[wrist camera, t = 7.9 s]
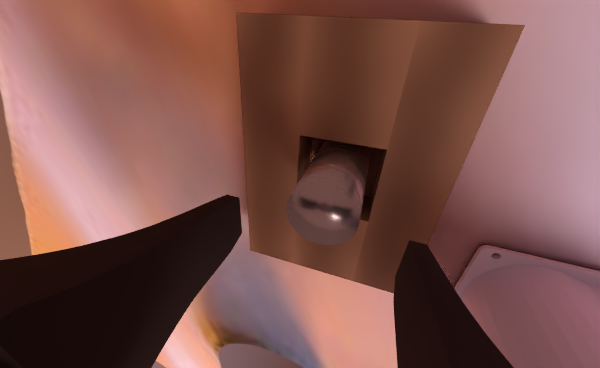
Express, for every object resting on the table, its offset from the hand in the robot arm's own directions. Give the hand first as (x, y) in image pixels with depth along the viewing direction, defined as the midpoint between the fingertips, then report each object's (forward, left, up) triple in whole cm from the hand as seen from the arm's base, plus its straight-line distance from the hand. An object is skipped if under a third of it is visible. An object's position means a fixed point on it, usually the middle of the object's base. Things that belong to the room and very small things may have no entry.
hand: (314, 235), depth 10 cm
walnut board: (0, 0, -8) cm, 8 cm away
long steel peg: (0, 0, -8) cm, 8 cm away
